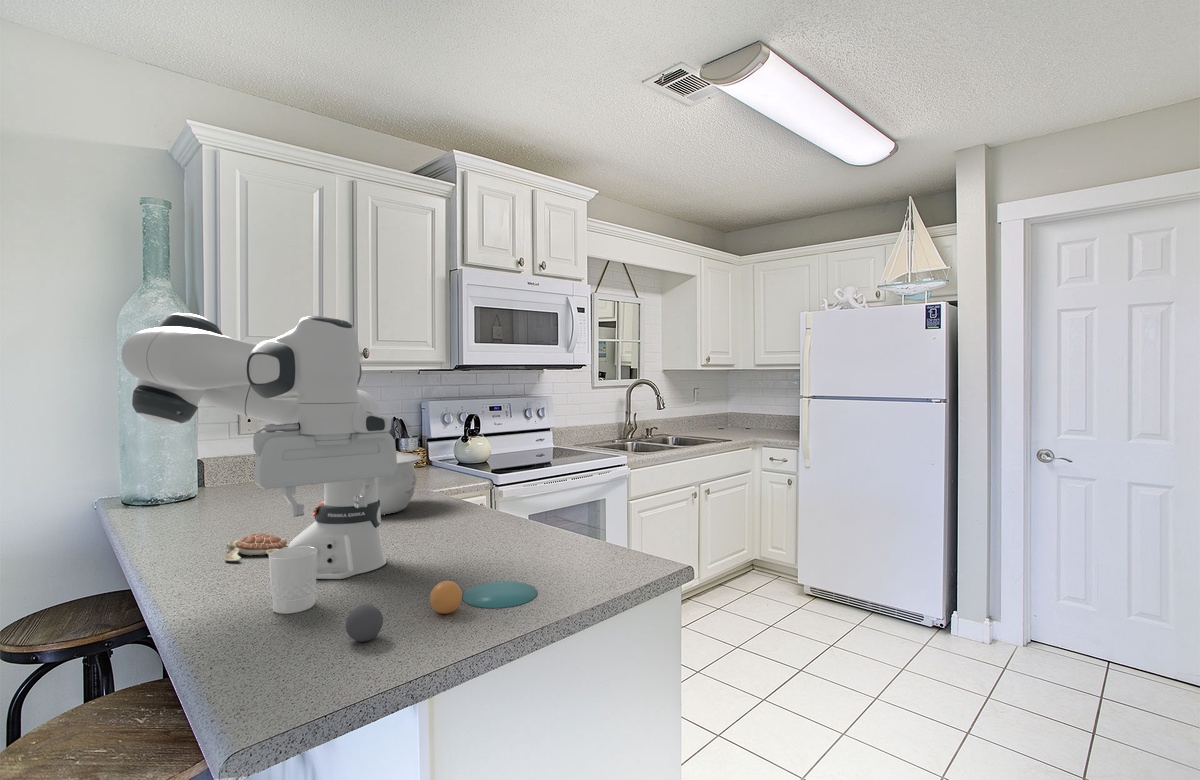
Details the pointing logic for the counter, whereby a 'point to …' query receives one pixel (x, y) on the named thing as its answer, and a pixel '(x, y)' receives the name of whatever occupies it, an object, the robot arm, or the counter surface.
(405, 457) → the chamber pot
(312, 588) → the white cup
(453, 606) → the object ball
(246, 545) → the decorative turtle
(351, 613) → the dark gray ball
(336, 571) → the robot arm
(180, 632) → the counter surface
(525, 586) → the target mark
